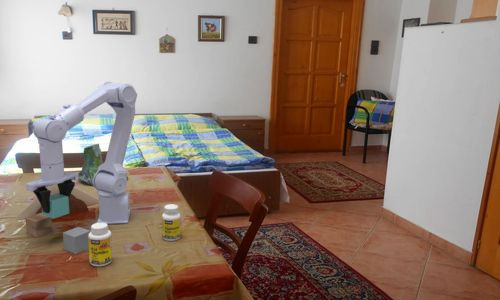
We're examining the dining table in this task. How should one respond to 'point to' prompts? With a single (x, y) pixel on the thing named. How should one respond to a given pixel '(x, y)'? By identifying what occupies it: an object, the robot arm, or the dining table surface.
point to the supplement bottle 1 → (100, 245)
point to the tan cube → (38, 225)
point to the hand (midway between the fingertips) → (55, 209)
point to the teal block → (58, 206)
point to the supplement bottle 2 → (171, 223)
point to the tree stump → (91, 163)
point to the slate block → (76, 240)
